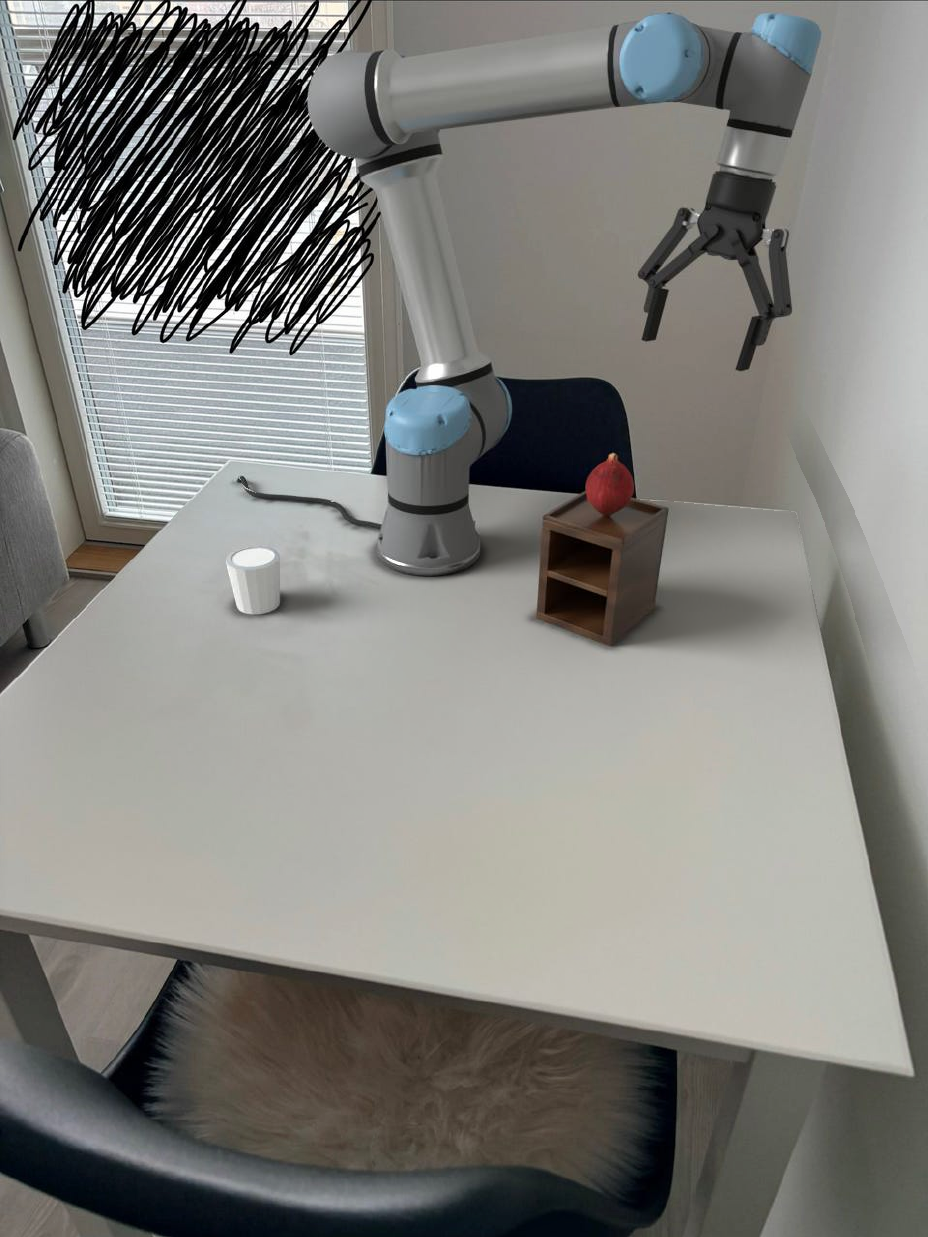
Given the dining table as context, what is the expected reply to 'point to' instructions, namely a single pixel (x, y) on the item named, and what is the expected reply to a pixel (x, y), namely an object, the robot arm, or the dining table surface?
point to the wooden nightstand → (600, 567)
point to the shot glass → (255, 578)
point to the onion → (609, 486)
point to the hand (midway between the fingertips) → (693, 354)
